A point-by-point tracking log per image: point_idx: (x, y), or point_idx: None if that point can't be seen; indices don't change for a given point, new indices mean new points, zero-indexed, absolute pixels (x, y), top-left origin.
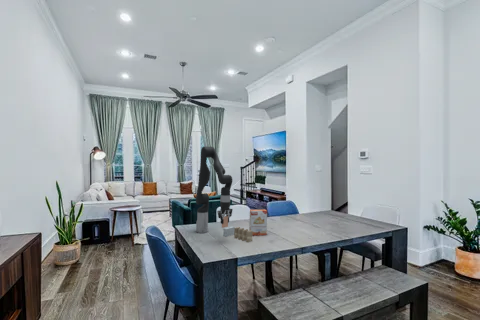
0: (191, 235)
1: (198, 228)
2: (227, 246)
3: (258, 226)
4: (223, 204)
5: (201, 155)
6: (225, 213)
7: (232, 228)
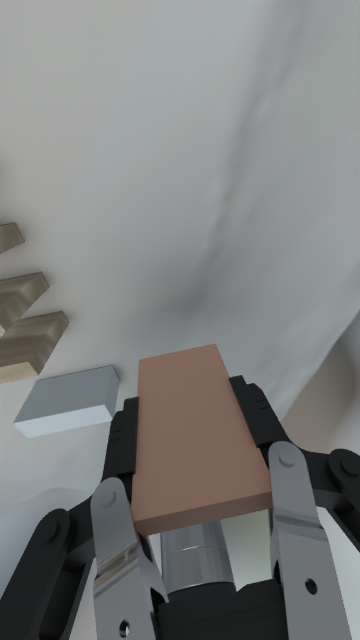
0: None
1: None
2: (212, 175)
3: None
4: None
5: None
6: (251, 637)
7: (38, 413)
